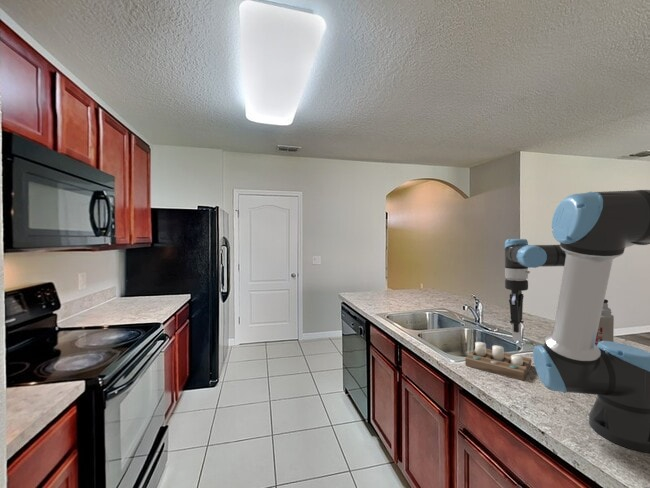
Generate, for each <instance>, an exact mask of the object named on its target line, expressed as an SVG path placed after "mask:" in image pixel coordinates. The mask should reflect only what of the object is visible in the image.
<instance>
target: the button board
mask: <svg viewBox="0 0 650 488" xmlns="http://www.w3.org/2000/svg"><path fill="white" fill-rule="evenodd" d="M511 355H515V354H514V353H513V354H512V353H510V352H509V353H508V352H504V361H497V360H493V359H492V349H490V348H486V357H480V356H476V355H475V349H474V350H472V351H471V352H470V353H469V354H468V355H467V356H466V357H465V360H464V361H465V363H464V365H465V366H466V367H469V368H474V369H477V370H481V371H485V372H489V373H492V374H496V375H500V376H504V377H509V378H513V379H515V380H519V381H524V380H525V379H526V377H527V375H528V373H529V371H530V369H531V367H532V358H531V357H529V356H528V357H526V356H522V355H520V356H521V357H523V366H519V365H514V364H511Z"/></svg>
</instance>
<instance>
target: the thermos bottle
mask: <svg viewBox="0 0 650 488" xmlns="http://www.w3.org/2000/svg"><path fill="white" fill-rule="evenodd" d="M608 303H609V300H608V299H606V298H604V303H603V308H602V312H601V317H600V322H599V326H598V331H597V335H596V340H595V345H596V346H597V345H598V342H600V341H610V342H614V334H615V333H614V332H615V331H614V323H615V322H614V321H615V320H614V319H615V318H614V315H613V314H612V313H613V311H612V309H611V308H610V307H609V304H608Z"/></svg>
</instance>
